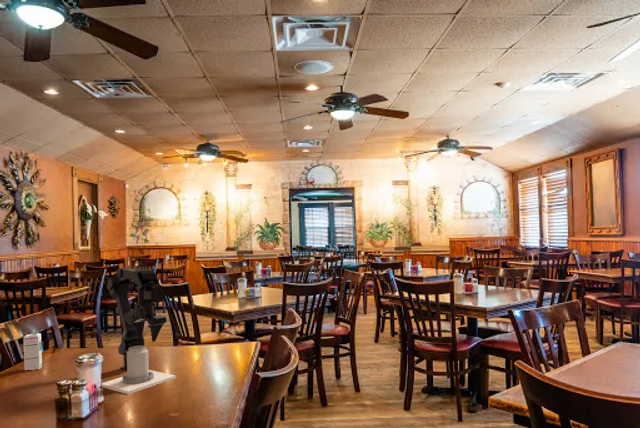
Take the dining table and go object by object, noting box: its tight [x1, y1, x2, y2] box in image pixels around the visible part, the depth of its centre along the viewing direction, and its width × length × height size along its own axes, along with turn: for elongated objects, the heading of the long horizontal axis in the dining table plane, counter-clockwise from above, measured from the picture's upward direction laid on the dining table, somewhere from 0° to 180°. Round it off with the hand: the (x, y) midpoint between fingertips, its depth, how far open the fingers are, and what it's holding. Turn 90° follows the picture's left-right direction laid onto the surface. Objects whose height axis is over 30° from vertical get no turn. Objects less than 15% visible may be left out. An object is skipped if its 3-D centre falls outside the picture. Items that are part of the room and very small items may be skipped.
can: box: [126, 345, 150, 379], centre depth 177 cm, size 8×8×12 cm
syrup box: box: [23, 332, 43, 371], centre depth 203 cm, size 6×6×14 cm
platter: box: [101, 369, 177, 395], centre depth 177 cm, size 18×20×2 cm
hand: (146, 340), depth 188 cm, fingers open, 9 cm apart
